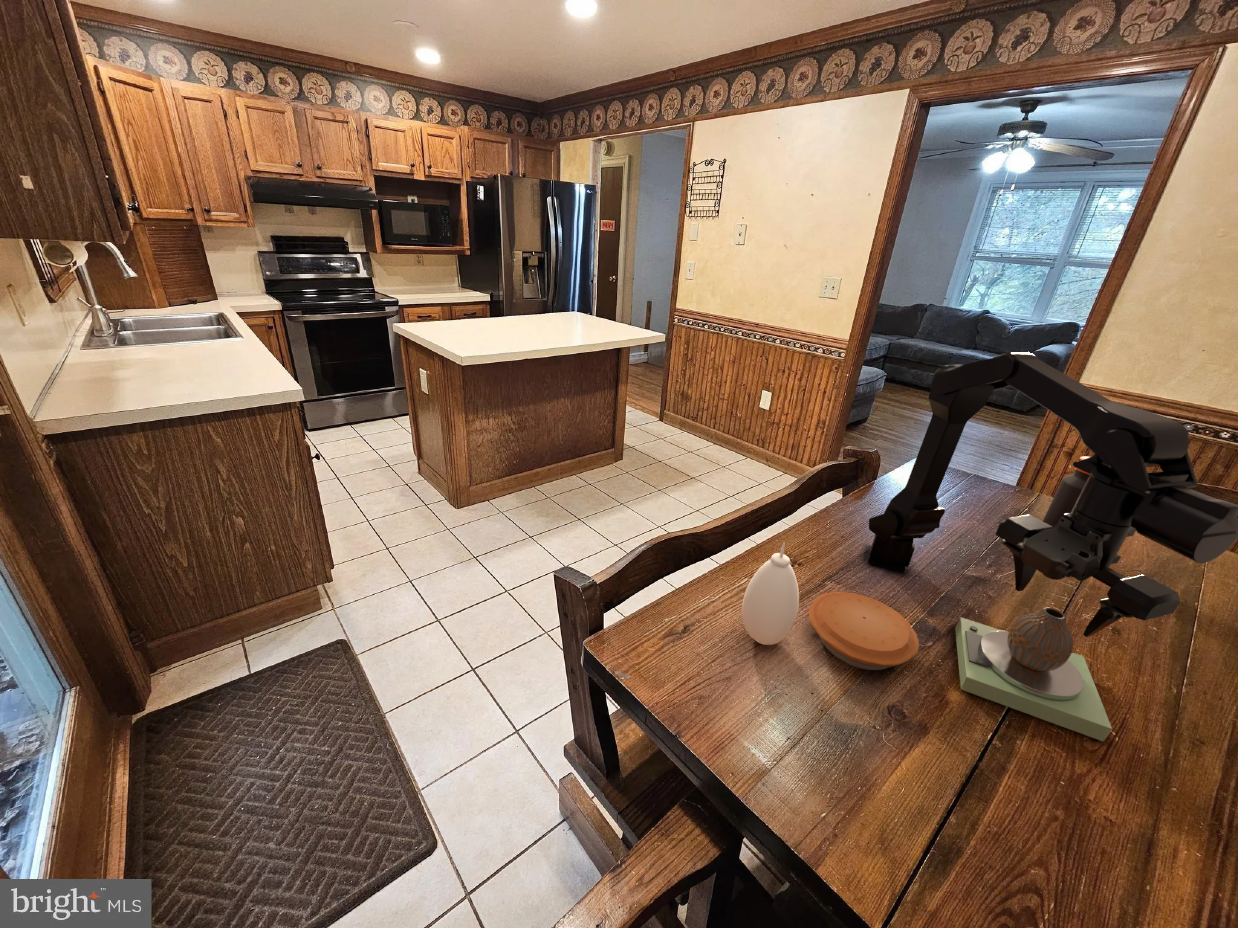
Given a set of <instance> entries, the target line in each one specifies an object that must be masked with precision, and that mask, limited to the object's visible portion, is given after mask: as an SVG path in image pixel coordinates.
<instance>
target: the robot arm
mask: <svg viewBox="0 0 1238 928" xmlns="http://www.w3.org/2000/svg"><path fill="white" fill-rule="evenodd" d="M1009 387H1012V388H1013V389H1015V390H1017V391H1018V392H1020V393H1021V394H1023V395H1024V396H1026V397H1027V398H1029V399H1030V400H1032V401H1033V402H1035V403H1037V404H1038V405H1040V406H1041V407H1043V408H1044V409H1046V410H1047V411H1049V412H1050V413H1052V414H1054V415H1055V416H1057V417H1058V418H1060V419H1061V420H1063V421H1065V422H1066V423H1068V424H1069V425H1071V426H1072V427H1073V428H1074V429H1075V430H1076V431H1077V432H1078V434H1079V436H1080V438H1081V441H1082V443H1083V444H1084V445H1085V446H1086V447H1087V449H1089V450H1090V451H1091V452H1092V453H1093V455H1091V456H1088V457H1089V458H1087V459H1084V460H1080V461H1078V460H1076V461H1074V462H1073V463H1072V467H1074V468H1075V467H1076V468H1078V469H1080V470H1083V471H1085V472H1087V473H1089V474H1090V476H1089V478H1088V480H1087V482H1086V484H1085V486H1084V488H1083V490H1082V492H1081V494H1080V496H1079V498H1078V499H1077V501H1076V503H1075V505H1074V507H1073V509H1072V511H1071V513H1068V514H1063V516H1062V518H1060V519H1059V521H1058V523H1057V524H1056V525H1055V526H1054V527H1052V526H1050V525H1048V524H1046V523H1044V522H1043V520H1041V519H1039V518H1036V517H1035V516H1033V515H1031V514H1024V515H1018V516H1011V517H1006V518H1003V519H1002V520H1000V522H998V524H997V527H996V529H995V531H994V534H995V536H996V537H998V538H1000V539H1002V540H1001V543H1002V544H1003V546H1005V547H1006V548H1007V549H1008V550H1009V551H1010V553H1011V554H1012V556H1013V563H1014V582H1015V583H1014V585H1015V591H1017V592H1024V590H1025V589H1026V588H1027V586H1028V585H1029V584H1030V582H1031V580H1032V579H1033V577H1034V575H1035V574H1036V572H1037V571H1038V572H1040V573H1042V575H1043V576H1044V577H1046V578H1048V579H1049V580H1053V581H1054V580H1055V581H1060V580H1063V579H1064V578H1074V579H1075V580H1078V581H1079V582H1084V581H1086V580H1088V579H1089V578H1091V577H1092V578H1093V579H1095V580H1097V581H1099V582H1100V583H1102V584H1104V585H1106V586H1108V587H1109V589H1108V591H1107V593H1106V596H1107V598H1103V599H1099V606H1100V607H1099V609H1098V610H1097V611H1096V613H1095V615H1094V616H1093V617H1092V618H1091V620H1090V621H1089V622H1088V624H1087V626H1086V627H1085V629H1084V630H1083V633H1082V635H1083V637H1085V638H1088V637H1092V636H1093V635H1095V634H1097V633H1099V632H1100V631H1102V630H1104V629H1105V628H1107V627H1109V626H1110V625H1112V624H1114V623H1115V622H1117V621H1120V619H1122V618H1128V619H1131V618H1135V619H1138V620H1141V621H1148V620H1152V619H1156V618H1161V617H1165V616H1168V615H1172V614H1174V613H1175V612H1176V610H1177V608H1178V607H1179V605H1180V604H1181V600H1180V596H1179V592H1178V591H1176V590H1174V589H1173V588H1170V587H1169V586H1166V585H1165V584H1163V583H1161V582H1159V581H1157V580H1155V579H1154V578H1152V577H1149V576H1148V575H1145V574H1141V575H1140V574H1139V575H1136V576H1132V577H1131V576H1130V577H1127V576H1125V575H1123V574H1122V573H1120V572H1118V571H1116V570H1114V569H1112V568H1110V567H1111V565H1114V564H1118V563H1119V561H1120V560H1121V558H1122V556H1121V555H1119V554H1118V552H1119V551H1120V549H1121V547H1122V546H1123V544H1124V543H1125V540H1126V539H1127V538H1129V537H1134V535H1135V533H1137V534H1138V535H1140V536H1142V537H1145V538H1147V539H1148V540H1151V541H1153V542H1154V543H1157V544H1159V545H1161V546H1163V547H1165V548H1167V549H1169V550H1170V551H1173V552H1175V553H1177V554H1179V555H1181V556H1183V557H1185V558H1187V559H1189V560H1191V561H1193V562H1195V563H1198V564H1206V563H1208V562H1212V561H1214V560H1215V559H1217V558H1219V557H1220V556H1221V555H1223V554H1224V553H1225V552H1226V551H1228V550H1229V549H1230V547H1232V546H1233V544H1234V543H1235V542H1236V541H1237V539H1238V504H1235V503H1233V502H1231V501H1227V500H1224V499H1220V498H1216V497H1212V496H1210V495H1207V494H1205V493H1202V492H1200V491H1197V490H1196V489H1195V490H1194V489H1193V488H1196V487H1197V486H1198V480H1197V477H1196V474H1195V470H1194V467H1193V465H1192V461H1191V458H1190V454H1189V451H1188V449H1189V445H1190V438H1189V431H1188V429H1187V428H1186V427H1185V426H1184V424H1181V423H1180V422H1179V421H1177V420H1174V419H1172V418H1169V417H1166V416H1163V415H1161V414H1157V413H1155V412H1152V411H1149V410H1146V409H1142V408H1137V407H1134V406H1130V405H1125V404H1123V403H1119V402H1116V401H1113V400H1111V399H1109V398H1107V397H1105V396H1104V395H1102V394H1100V393H1099V392H1097V391H1095V390H1093V389H1092V388H1090V387H1087V385H1085V384H1082V383H1081V382H1079V381H1078V380H1076V379H1074V378H1072V377H1070V376H1068V374H1067V375H1066V374H1065V373H1063V372H1061V371H1060V370H1059V369H1058V370H1057V369H1056V368H1054V367H1053V366H1050V365H1049V364H1048V363H1046V362H1044V361H1042V360H1040V358H1039V357H1038V356H1037V355H1035V354H1033V353H1030V352H1004V353H1002V354H999V355H996V356H993V357H990V358H986V359H983V360H978V361H973V362H969V363H965V364H964V363H963V364H947V365H943V366H942V367H940V368H938V369H937V370H936V371H935V372H934V375H933V377H932V380H931V385H930V390H929V394H928V403H929V405H930V408H931V412H932V415H931V418H930V421H929V424H928V425H927V428H926V431H925V434H924V437H923V439H922V442H921V445H920V448H919V450H918V453H917V455H916V458H915V461H914V463H913V465H912V469H911V472H910V474H909V477H908V480H907V482H906V484H905V487H904V488H903V489H901V491H899V492H898V493H897V494H896V495H895V496H893V497H892V498H891V499H890V501H889V503H888V504H887V507H886V508H885V510H884V512H883V513H881V514H879V515H876V516H873V517H870V518H868V519H869V520H868V530H869V531H870V532H871V533H872V534H874V537H873V540H872V543H871V545H870V546H869V549H868V556H867V563H868V564H869V565H873V566H877V567H879V568H884V569H886V570H891V571H893V572H896V573H899V574H905V573H906V568H908V567H909V566H910V563H911V561H912V558H913V555H914V552H915V542H914V539H924V537H925V536H926V535H929V534H931V533H933V532H934V531H935V530H936V529H940V523H941V520H942V519H943V516H944V515H945V511H946V510H945V508H944V507H941V506H940V504H939V500H938V498H937V496H938V493H939V490H940V488H941V486H942V483H943V480H944V478H945V475H946V473H947V472H948V469H949V468H948V467H949V466H950V463H951V461H952V459H953V456H954V454H955V451H956V449H957V446H958V444H959V441H960V439H961V437H962V434H963V432H964V429H965V427H966V424H967V423H968V421H970V419H972V418H973V417H974V416H975V415H976V414H977V413H979V412H980V411H981V410H983V409H984V407H985V406H986V404H987V402H988V400H989V399H990V398H991V396H992V394H993V393H994V391H998V390H1001V389H1005V388H1009ZM1155 467H1158V468H1160V469H1161V471H1153V472H1148V470H1147V468H1155Z"/></svg>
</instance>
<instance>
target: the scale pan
mask: <svg viewBox="0 0 1238 928" xmlns="http://www.w3.org/2000/svg"><path fill="white" fill-rule="evenodd" d="M1008 633H1009V630H1002V631H992V632H989V633H987V634H985V635H984V636H983V637H982V639H981V641H980V644H979V649H980V653H981V655H982V657H983V658H984V660H985V661H986V663H987V664H988V665H989V666H990V667H991V668H992V669H993V670H994V671H995V672H996V673H997V674H999V675H1000V676H1001V677H1003V678H1004V679H1005V680H1007V681H1008V682H1010V683H1012V684H1013V685H1015V686H1017V687H1019V688H1021V689H1023V690H1025V691H1027V692H1030V693H1032V694H1035V695H1038V696H1041V697H1044V698H1048V699H1054V700H1068V699H1072V698H1075V697H1076V696H1078V695H1079V693H1080V692H1081V690H1082V688H1083V680H1082V677H1081V675H1080V673H1079V672H1078V670H1077V669H1076V668H1075V666H1074V665H1073V664H1072V663H1071V662H1070V661H1069V660H1067V661H1066V663H1065V664H1063V665H1062V666H1061V667H1059V668H1057V669H1055V670H1052V671H1035V670H1032V669H1029V668H1027V667H1025V666H1023V665H1022V664H1020V663H1019V662H1018V661H1017V660H1016V659H1015V658H1014V657H1013V655H1012V654H1011V652H1010V650H1009V648H1008V642H1007V638H1008Z"/></svg>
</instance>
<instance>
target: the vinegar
mask: <svg viewBox="0 0 1238 928" xmlns="http://www.w3.org/2000/svg"><path fill="white" fill-rule="evenodd" d="M1089 457H1090V456H1079V457H1078V460H1077V461H1080V460H1084V459H1087V458H1089ZM1073 470H1074V473H1072V474H1070V475H1067V476H1065V477H1063V478H1062V480H1061V482H1060V484H1059V485H1058V488H1057V490H1056V492H1055V494H1054V496H1053V498H1052V501H1051V503H1050V505H1049V506H1048V509H1047V511H1046V513H1045V515H1044V518H1043V519H1042V521H1043V522H1044V523H1046V524H1048V525H1050V526H1052V527H1054V526H1055V525H1056V524H1057V523H1058V521H1059V519H1060V518H1062V516H1063V514H1068V513H1071V511H1072V509H1073V507H1074V505H1075V503H1076V501H1077V499H1078V498H1079V496H1080V494H1081V492H1082V490H1083V488H1084V486H1085V484H1086V482H1087V480H1088V478H1089V476H1090V474H1089V473H1087V472H1085V471H1083V470H1080V469H1078V468H1076V467H1074V469H1073Z"/></svg>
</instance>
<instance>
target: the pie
mask: <svg viewBox="0 0 1238 928" xmlns="http://www.w3.org/2000/svg"><path fill="white" fill-rule="evenodd" d="M808 611H809V613H808V619H809V621H810V623H811V626H812V628H813V629H814V631H815V632H816V633H817V635H818V637H819V639H820V641H821V643H822V644H823V646H824V647H825V648H826V650H827V651H828V652H829V653H830V654H832V655H833V656H834V657H835V658H837V659H838V660H840V661H841V662H844V663H845V664H847V665H849V666H852V667H855V668H858V669H861V670H868V671H883V670H886V669H888V668H891V667H896V666H899V665H902V664H904V663H906V662H907V663H908V662H909V661H910V660H912V659H913V658H914V657H915V656H916V655H917V654H918V651H919V647H920V642H919V637H918V634H917V632H916V631H915V629H914V628H913V627H912V625H911V624H910V623H909V622H908V621H907V620H906V619H905V617H904V616H903V615H902V614H900V612H898V611H896V610H895V609H894V608H892V607H890V606H889V605H888V604H885V603H882V602H881V601H879V600H876V599H874V598H872V597H868V596H867V595H863V594H860V593H856V592H848V591H830V592H825V593H821V594H820V595H819V596H818V597H817V598H815V599H814V600H813V602H812V603H811V605H810V606H809V608H808Z"/></svg>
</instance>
